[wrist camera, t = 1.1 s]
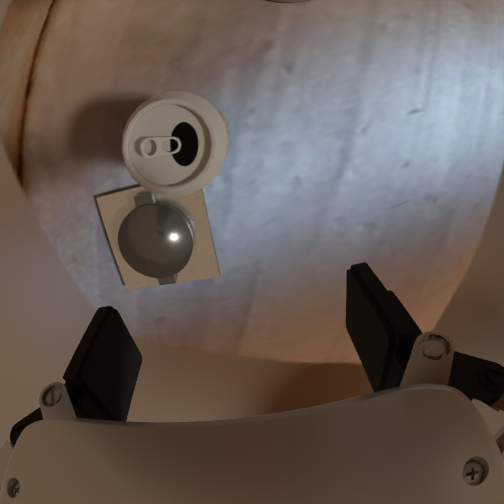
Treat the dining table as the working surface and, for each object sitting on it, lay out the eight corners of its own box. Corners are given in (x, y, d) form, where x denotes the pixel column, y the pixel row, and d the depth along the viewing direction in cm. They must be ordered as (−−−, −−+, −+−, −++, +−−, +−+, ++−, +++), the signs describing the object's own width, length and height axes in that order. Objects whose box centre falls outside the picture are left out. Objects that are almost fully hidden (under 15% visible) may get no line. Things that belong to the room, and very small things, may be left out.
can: (230, 169, 29) (228, 201, 18) (159, 173, 29) (118, 207, 18) (229, 98, 26) (226, 83, 15) (156, 103, 25) (109, 96, 15)
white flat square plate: (99, 195, 29) (90, 202, 27) (199, 173, 29) (196, 177, 27) (128, 286, 34) (123, 296, 32) (220, 273, 34) (219, 284, 32)
